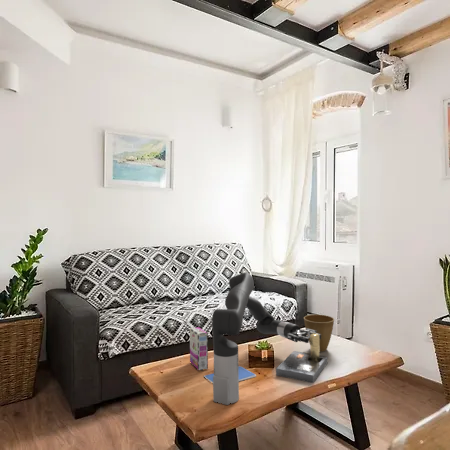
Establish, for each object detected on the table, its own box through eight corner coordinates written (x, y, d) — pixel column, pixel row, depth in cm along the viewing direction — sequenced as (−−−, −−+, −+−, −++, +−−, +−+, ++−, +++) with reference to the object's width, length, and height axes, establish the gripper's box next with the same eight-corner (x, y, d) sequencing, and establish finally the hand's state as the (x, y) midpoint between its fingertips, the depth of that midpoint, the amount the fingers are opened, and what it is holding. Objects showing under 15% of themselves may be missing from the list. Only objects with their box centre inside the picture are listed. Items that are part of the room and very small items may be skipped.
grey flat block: (313, 382, 155) (313, 374, 155) (276, 375, 163) (276, 367, 162) (327, 362, 176) (327, 355, 176) (293, 357, 184) (293, 350, 184)
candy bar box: (208, 369, 170) (208, 332, 170) (198, 371, 168) (197, 334, 167) (199, 361, 180) (199, 326, 180) (189, 362, 178) (189, 327, 178)
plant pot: (298, 346, 198) (298, 316, 198) (322, 343, 204) (322, 313, 203) (315, 356, 184) (314, 323, 184) (340, 352, 190) (340, 320, 189)
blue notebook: (218, 389, 151) (218, 386, 151) (202, 378, 162) (202, 375, 162) (257, 378, 162) (257, 374, 162) (240, 368, 172) (240, 365, 172)
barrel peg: (318, 368, 170) (318, 336, 170) (309, 366, 172) (309, 335, 172) (320, 364, 173) (320, 334, 173) (311, 363, 175) (311, 333, 175)
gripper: (277, 325, 181) (303, 333, 168) (298, 320, 190) (324, 327, 177) (278, 341, 182) (303, 350, 169) (298, 335, 190) (324, 343, 177)
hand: (314, 338), depth 173 cm, fingers open, 8 cm apart
